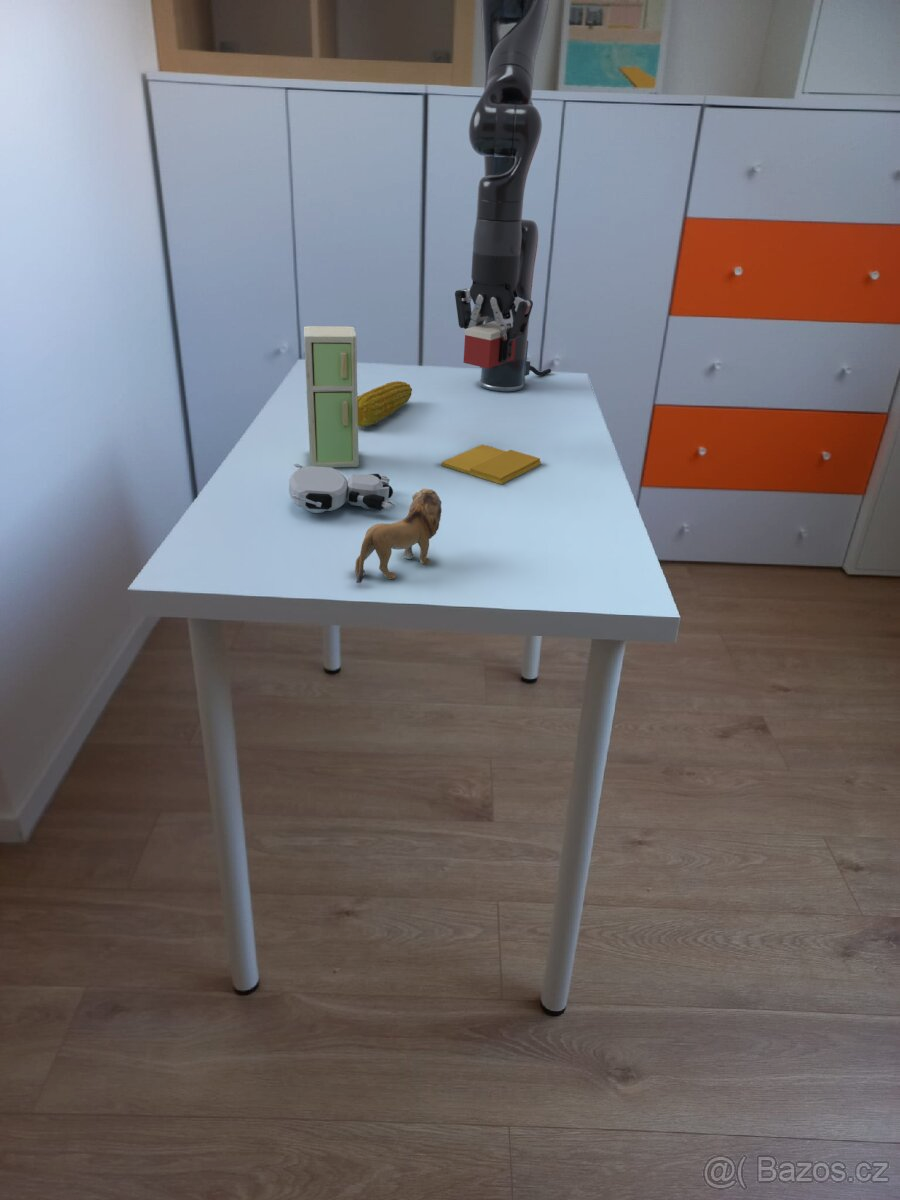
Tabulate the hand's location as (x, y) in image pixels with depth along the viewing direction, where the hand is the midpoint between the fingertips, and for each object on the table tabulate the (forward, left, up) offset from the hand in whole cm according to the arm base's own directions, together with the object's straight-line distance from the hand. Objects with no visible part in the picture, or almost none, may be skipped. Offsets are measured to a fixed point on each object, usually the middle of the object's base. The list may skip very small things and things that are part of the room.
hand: (488, 358), depth 139 cm
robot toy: (+36, -1, -15) cm, 39 cm away
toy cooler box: (0, 0, 0) cm, 0 cm away
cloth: (+7, +6, -15) cm, 18 cm away
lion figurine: (+45, +18, -15) cm, 50 cm away
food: (0, -24, -15) cm, 28 cm away
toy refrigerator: (+24, -14, -15) cm, 31 cm away
